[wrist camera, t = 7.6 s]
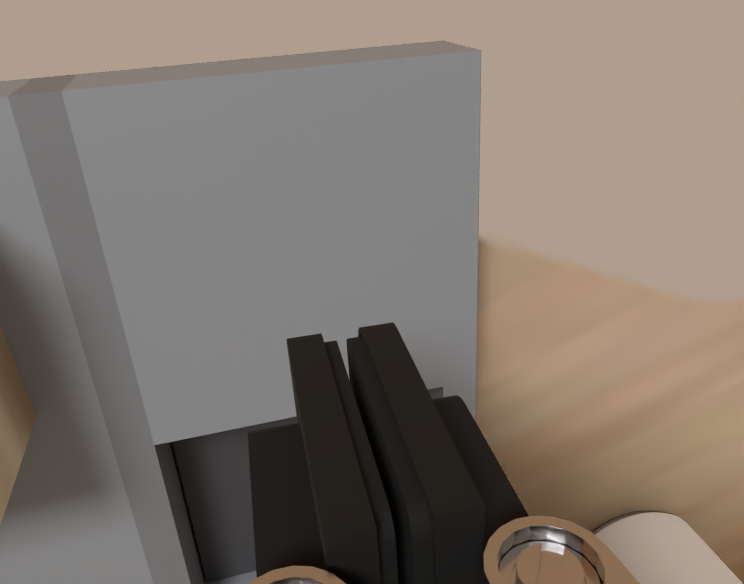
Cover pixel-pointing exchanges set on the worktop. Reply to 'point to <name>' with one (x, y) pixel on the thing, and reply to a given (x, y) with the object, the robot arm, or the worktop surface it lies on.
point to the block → (12, 422)
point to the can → (663, 550)
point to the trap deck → (216, 282)
